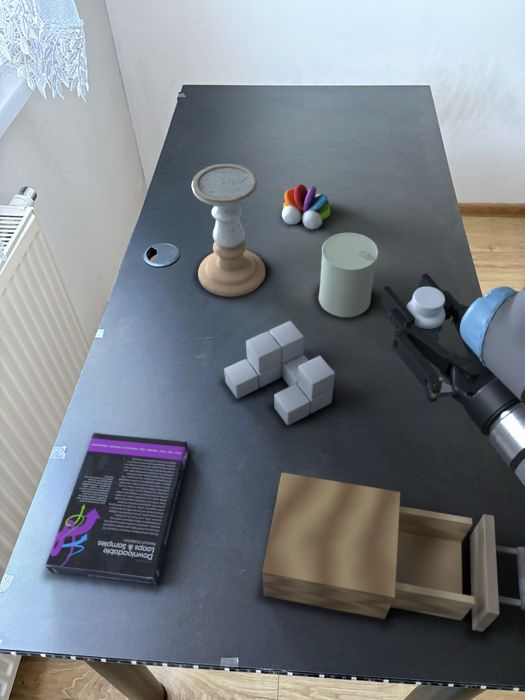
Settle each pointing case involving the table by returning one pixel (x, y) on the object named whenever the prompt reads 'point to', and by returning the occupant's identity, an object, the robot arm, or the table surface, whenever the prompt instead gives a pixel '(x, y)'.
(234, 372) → the grey cube puzzle piece
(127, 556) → the box
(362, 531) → the cabinet
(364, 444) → the table surface
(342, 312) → the can
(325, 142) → the table surface
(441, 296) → the pill bottle
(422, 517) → the drawer
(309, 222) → the rainbow petal toy
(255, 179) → the candle holder
